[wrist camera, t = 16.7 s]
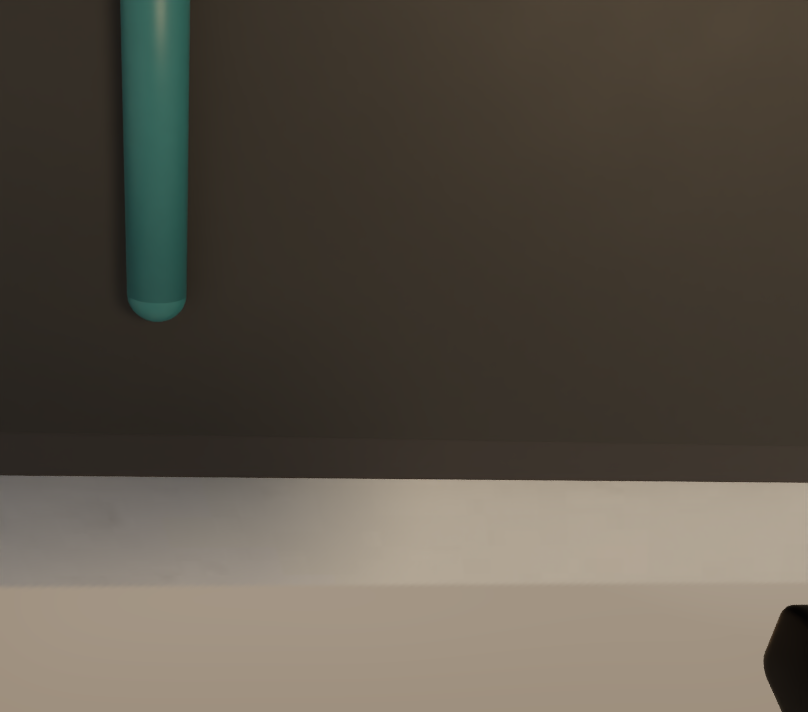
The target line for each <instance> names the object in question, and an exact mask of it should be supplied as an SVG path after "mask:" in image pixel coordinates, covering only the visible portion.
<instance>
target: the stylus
mask: <svg viewBox="0 0 808 712" xmlns="http://www.w3.org/2000/svg"><path fill="white" fill-rule="evenodd" d="M120 15H121V58H122V101H123V144H124V188H125V231H126V274H127V297H128V302H129V304H130V306H131V308H132V309H133V311H134V312H135V313H136V314H137V315H139V316H140V317H142V318H143V319H145V320H148V321H152V322H163V321H167V320H170V319H172V318H173V317H175V316H176V315H177V314H178V313H179V312H180V311H181V310H182V309H183V307H184V304H185V302H186V296H187V219H188V135H189V52H190V0H120Z"/></svg>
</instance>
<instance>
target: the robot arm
mask: <svg viewBox="0 0 808 712" xmlns="http://www.w3.org/2000/svg"><path fill="white" fill-rule="evenodd" d="M764 670H765V674H766V677H767V680H768V682H769V684H770V687H771V689H772V691H773V693H774V695H775V697H776V700H777V702H778V704H779V706H780V709H781V711H782V712H808V605H791V606H788V607H786V608H785V609H784V610H783V611H782V613H781V614H780V617H779V619H778V622H777V624H776V627H775V629H774V631H773V634H772V636H771V639H770V641H769V644H768V646H767V649H766V651H765V654H764Z"/></svg>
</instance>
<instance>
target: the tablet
mask: <svg viewBox="0 0 808 712" xmlns="http://www.w3.org/2000/svg"><path fill="white" fill-rule="evenodd" d="M0 475H25V476H135V477H246V478H356V479H466V480H577V481H687V482H797V483H808V0H190V52H189V135H188V219H187V296H186V302H185V304H184V307H183V309H182V310H181V311H180V312H179V313H178V314H177V315H176V316H175V317H173V318H172V319H170V320H167V321H163V322H152V321H148V320H145V319H143V318H142V317H140V316H139V315H137V314H136V313H135V312H134V311H133V309H132V308H131V306H130V304H129V302H128V297H127V274H126V231H125V188H124V144H123V101H122V58H121V15H120V0H0Z"/></svg>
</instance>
